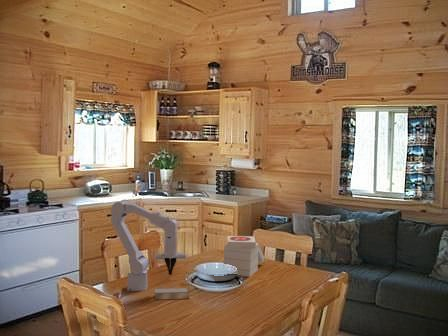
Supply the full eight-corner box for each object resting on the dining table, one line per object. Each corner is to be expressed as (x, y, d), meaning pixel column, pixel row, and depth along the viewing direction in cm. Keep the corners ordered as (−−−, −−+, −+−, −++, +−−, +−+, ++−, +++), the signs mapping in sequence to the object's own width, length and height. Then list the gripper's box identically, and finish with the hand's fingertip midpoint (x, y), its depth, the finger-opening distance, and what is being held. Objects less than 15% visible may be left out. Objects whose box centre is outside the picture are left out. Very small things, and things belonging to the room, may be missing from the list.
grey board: (154, 296, 218) (154, 293, 218) (154, 292, 224) (154, 288, 224) (187, 295, 220) (187, 292, 220) (186, 291, 226) (186, 288, 226)
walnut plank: (155, 302, 209) (155, 299, 209) (154, 296, 217) (154, 293, 217) (189, 301, 211) (189, 298, 211) (187, 295, 220) (187, 292, 220)
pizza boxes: (267, 264, 277) (268, 233, 276) (252, 278, 249) (253, 244, 248) (236, 260, 284) (237, 230, 283) (218, 273, 256) (218, 240, 254)
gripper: (154, 247, 215) (154, 277, 216) (187, 247, 218) (186, 276, 219) (154, 244, 222) (154, 272, 223) (185, 243, 225) (185, 271, 225)
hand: (170, 274), depth 221 cm, fingers closed
